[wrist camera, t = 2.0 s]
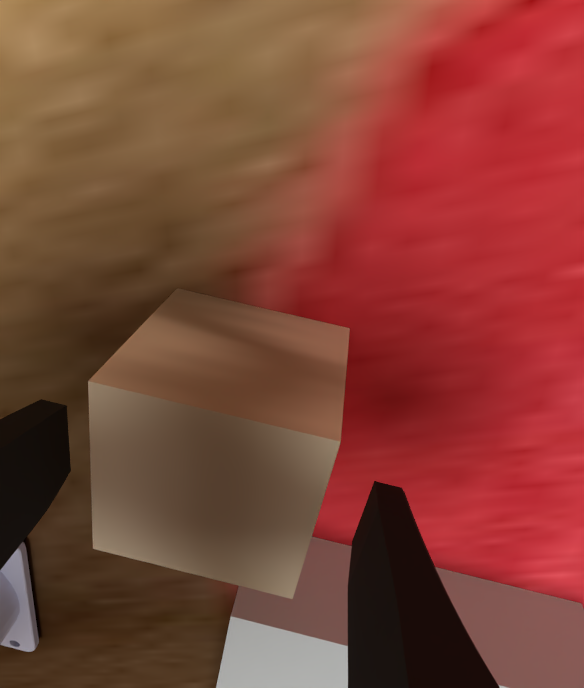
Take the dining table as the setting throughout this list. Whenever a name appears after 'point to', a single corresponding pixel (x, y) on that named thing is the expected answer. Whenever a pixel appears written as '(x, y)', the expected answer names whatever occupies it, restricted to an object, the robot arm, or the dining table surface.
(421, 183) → the dining table surface
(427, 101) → the dining table surface
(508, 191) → the dining table surface
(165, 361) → the birch cube
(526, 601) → the grey block
